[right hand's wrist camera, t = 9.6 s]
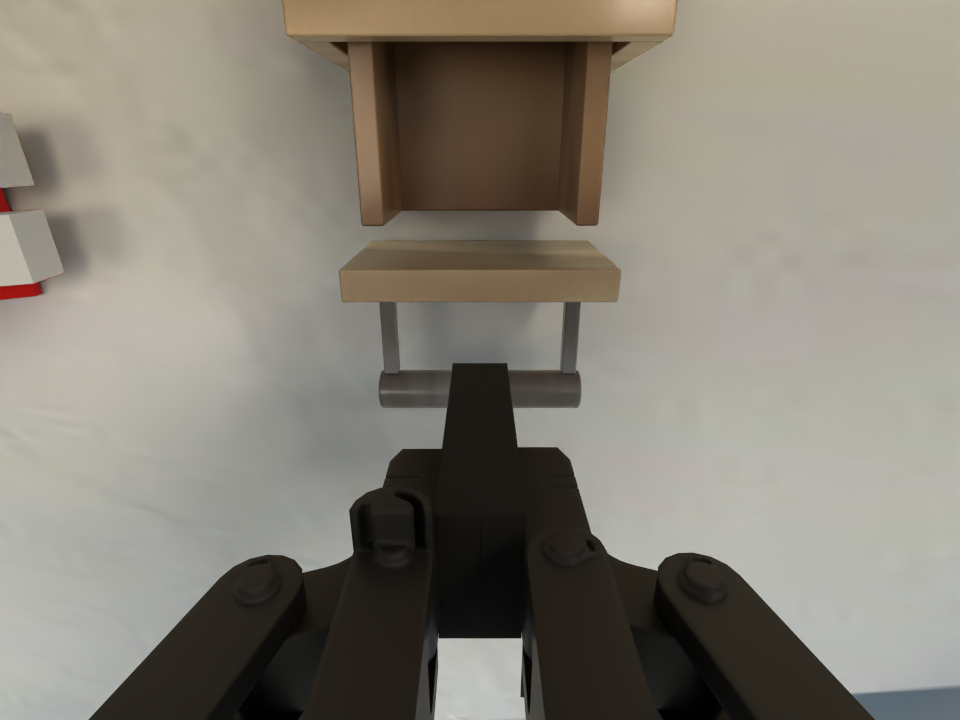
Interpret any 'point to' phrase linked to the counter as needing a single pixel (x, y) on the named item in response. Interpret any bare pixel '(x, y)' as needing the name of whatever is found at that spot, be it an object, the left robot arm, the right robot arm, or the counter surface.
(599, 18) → the wooden drawer box
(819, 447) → the counter surface
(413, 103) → the drawer
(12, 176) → the toy
